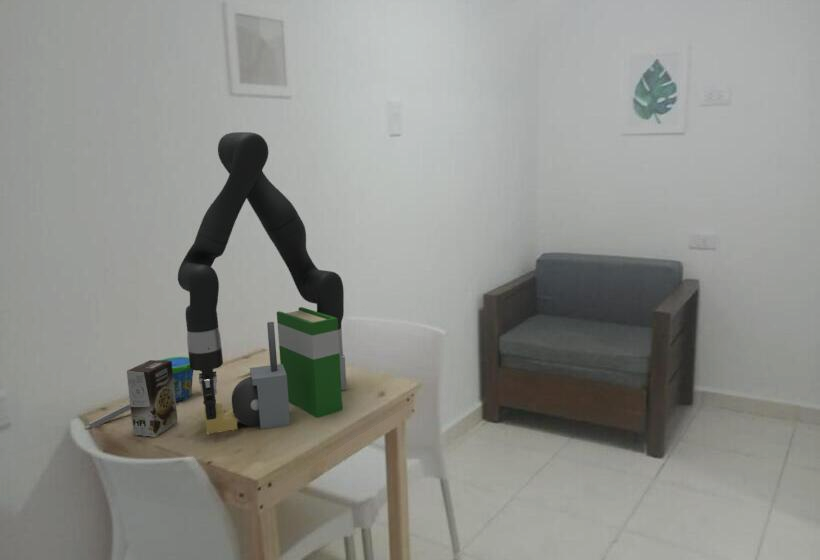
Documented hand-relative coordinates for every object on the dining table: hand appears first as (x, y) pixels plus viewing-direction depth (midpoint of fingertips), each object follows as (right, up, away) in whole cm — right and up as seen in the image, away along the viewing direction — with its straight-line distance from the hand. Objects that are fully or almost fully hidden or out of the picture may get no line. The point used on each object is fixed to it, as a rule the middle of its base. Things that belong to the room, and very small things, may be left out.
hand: (211, 412), depth 159 cm
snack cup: (-16, -1, +23) cm, 28 cm away
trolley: (+11, -3, +4) cm, 12 cm away
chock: (+2, -4, +1) cm, 5 cm away
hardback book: (+22, -1, +14) cm, 26 cm away
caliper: (-25, -4, +11) cm, 27 cm away
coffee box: (-14, -5, +2) cm, 15 cm away
